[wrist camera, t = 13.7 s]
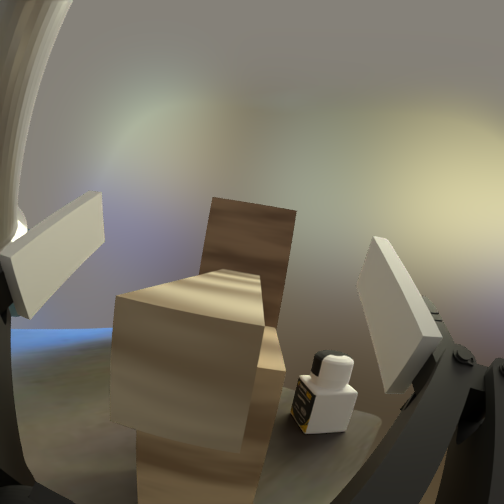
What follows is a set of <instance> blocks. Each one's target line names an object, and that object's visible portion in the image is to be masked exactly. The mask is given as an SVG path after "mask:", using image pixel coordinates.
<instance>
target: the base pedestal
mask: <svg viewBox="0 0 504 504" xmlns="http://www.w3.org/2000/svg"><path fill="white" fill-rule="evenodd" d="M285 374H286V369H285V365H284V361H283V357H282V353H281V349H280V345H279V341H278V337H277V333H276V329H275V327H268V326H265V328H264V334H263V339H262V344H261V350H260V355H259V360H258V366H257V371H256V376H255V381H254V386H253V391H252V396H251V401H250V406H249V411H248V416H247V421H246V426H245V431H244V436H243V440H242V445H241V450H240V454H239V453H233V452H227V451H221V450H216V449H210V448H205V447H201V446H196V445H191V444H187V443H183V442H179V441H175V440H171V439H167V438H163V437H159V436H156V435H152V434H149V433H146V432H142V431H139V430H136V466H137V495H138V504H252V503H253V500H254V496H255V493H256V489H257V486H258V482H259V479H260V475H261V472H262V468H263V464H264V460H265V457H266V453H267V449H268V445H269V441H270V437H271V433H272V429H273V425H274V421H275V417H276V413H277V409H278V405H279V400H280V396H281V392H282V387H283V383H284V378H285Z"/></svg>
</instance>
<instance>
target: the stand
mask: <svg viewBox="0 0 504 504" xmlns="http://www.w3.org/2000/svg"><path fill="white" fill-rule="evenodd" d="M296 212H297V211H295V210H289V209H284V208H277V207H272V206H266V205H260V204H254V203H247V202H241V201H235V200H229V199H222V198H216V197H213V198H212V203H211V208H210V214H209V220H208V225H207V230H206V236H205V242H204V247H203V253H202V259H201V265H200V272H199V275H201V274H205V273H209V272H213V271H217V270H221V269H227V270H233V271H238V272H244V273H250V274H256V275H260V283H261V293H262V303H263V312H264V322H265V326H268V327H275V329H276V328H277V323H278V318H279V312H280V307H281V302H282V296H283V290H284V285H285V279H286V273H287V267H288V261H289V255H290V249H291V243H292V237H293V231H294V225H295V217H296Z"/></svg>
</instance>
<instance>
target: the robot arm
mask: <svg viewBox="0 0 504 504" xmlns="http://www.w3.org/2000/svg"><path fill="white" fill-rule="evenodd" d="M72 2H73V0H0V504H75V503H74V502H72V501H71V500H69V499H67V498H65V497H63V496H61V495H59V494H57V493H55V492H53V491H52V490H50V489H48V488H46V487H44V486H43V485H41V484H39V483H38V482H36V481H35V479H34V477H33V475H32V474H31V472H30V470H29V469H28V467H27V465H26V463H25V460H24V456H23V452H22V447H21V442H20V437H19V431H18V425H17V419H16V412H15V404H14V395H13V384H12V370H11V316H14V317H18V316H22V317H25V318H27V319H29V320H30V319H31V318H32V317H33V316H34V315H35V314H36V312H37V311H38V310H39V309H40V308H41V307H42V306H43V304H44V303H45V302H46V301H47V300H48V299H49V298H50V297H51V296H52V295H53V294H54V292H55V291H56V290H57V289H58V288H59V287H60V286H61V285H62V284H63V283H64V282H65V281H66V280H67V279H68V278H69V276H71V275H72V273H73V272H74V271H75V270H76V269H77V268H78V267H79V266H80V265H81V264H82V263H83V262H84V261H85V260H86V259H87V258H88V257H89V256H90V255H91V254H92V253H93V252H94V251H96V250H97V248H99V247H100V246H101V245H102V244H103V243H104V242H105V236H104V224H103V212H102V211H103V210H102V193H101V192H96V191H88V192H87V193H85V194H83V195H82V196H80V197H79V198H77V199H75V200H74V201H72V202H70V203H69V204H67V205H66V206H64V207H63V208H61V209H59V210H58V211H57V212H55V213H54V214H52V215H51V216H49V217H48V218H46V219H45V220H43V221H42V222H40V223H39V224H37V225H36V226H35V227H33V228H32V229H27V222H26V218H25V216H24V214H23V212H22V211H21V209H20V208H19V207H18V206H17V205H18V193H19V184H20V176H21V169H22V161H23V156H24V150H25V144H26V139H27V134H28V129H29V124H30V120H31V116H32V112H33V108H34V104H35V100H36V96H37V93H38V89H39V86H40V83H41V79H42V76H43V73H44V70H45V67H46V64H47V61H48V58H49V56H50V53H51V50H52V47H53V45H54V42H55V40H56V37H57V35H58V32H59V30H60V28H61V25H62V23H63V21H64V19H65V16H66V14H67V12H68V10H69V8H70V6H71V4H72ZM356 287H357V290H358V294H359V297H360V300H361V303H362V307H363V310H364V314H365V317H366V320H367V324H368V327H369V331H370V335H371V338H372V342H373V346H374V349H375V353H376V357H377V361H378V365H379V369H380V373H381V377H382V381H383V386H384V390H385V393H388V394H397V393H398V394H403V393H405V391H406V390H407V389H408V387H409V386H410V385H411V383H412V384H413V387H414V391H415V392H414V393H413V394H412V395H411V397H410V398H409V399H408V400H407V402H406V403H405V404H404V405H403V406H402V408H401V409H400V410H401V413H400V414H399V416H398V417H397V419H396V420H395V422H394V423H393V425H392V426H391V428H390V429H389V431H388V432H387V434H386V435H385V437H384V438H383V439H382V441H381V442H380V444H379V445H378V446H377V448H376V449H375V450H374V452H373V453H372V454H371V456H370V457H369V458H368V460H367V461H366V462H365V463H364V465H363V466H362V467H361V468H360V470H359V471H358V472H357V473H356V475H355V476H354V477H353V478H352V479H351V481H350V482H349V483H348V484H347V485H346V486H345V488H344V489H343V490H342V491H341V492H340V493H339V494H338V495H337V497H336V498H335V499H334V500H333V501H332V502H331V503H330V504H419V502H420V500H421V499H422V497H423V495H424V493H425V492H426V490H427V488H428V486H429V484H430V483H431V481H432V479H433V477H434V475H435V473H436V471H437V469H438V467H439V465H440V462H441V461H442V459H443V457H444V454H445V452H446V450H447V448H448V450H447V455H446V460H445V466H444V470H443V475H442V479H441V483H440V487H439V491H438V495H437V498H436V502H435V504H504V359H502V358H496V359H495V360H494V361H493V362H492V364H491V365H490V366H489V367H486V366H483V365H479V364H476V360H475V357H474V355H473V354H472V353H471V352H470V351H469V350H468V349H467V348H466V347H464V346H462V345H460V344H455V343H454V341H453V339H452V337H451V335H450V333H449V331H448V330H447V328H446V326H445V324H444V322H442V318H441V316H440V315H439V313H438V311H437V309H436V307H435V305H434V304H433V303H432V302H431V301H430V300H429V299H428V298H427V297H426V296H421V295H420V293H419V291H418V289H417V287H416V286H415V284H414V282H413V280H412V279H411V277H410V275H409V273H408V272H407V270H406V269H405V267H404V265H403V263H402V262H401V260H400V258H399V257H398V255H397V253H396V252H395V250H394V248H393V247H392V245H391V244H390V242H389V241H388V239H386V238H380V237H375V236H373V238H372V241H371V244H370V247H369V250H368V252H367V255H366V258H365V261H364V264H363V267H362V270H361V272H360V275H359V278H358V281H357V284H356Z"/></svg>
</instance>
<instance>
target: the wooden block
mask: <svg viewBox="0 0 504 504" xmlns="http://www.w3.org/2000/svg"><path fill="white" fill-rule="evenodd" d="M264 328H265V322H264V312H263V303H262V293H261V283H260V275H256V274H250V273H244V272H238V271H233V270H227V269H221V270H217V271H213V272H209V273H205V274H201V275H197V276H194V277H189V278H185V279H182V280H178V281H174V282H169V283H165V284H161V285H157V286H153V287H149V288H145V289H141V290H137V291H133V292H129V293H125V294H121V295H117V296H116V300H115V309H114V321H113V332H112V347H111V367H110V421H112V422H115V423H118V424H121V425H124V426H127V427H130V428H133V429H136V430H139V431H142V432H146V433H149V434H152V435H156V436H159V437H163V438H167V439H171V440H175V441H179V442H183V443H187V444H191V445H196V446H201V447H205V448H210V449H216V450H221V451H227V452H233V453H239V454H240V450H241V445H242V440H243V436H244V431H245V426H246V421H247V416H248V411H249V406H250V401H251V396H252V391H253V386H254V381H255V376H256V371H257V366H258V360H259V355H260V350H261V344H262V339H263V334H264Z"/></svg>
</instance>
